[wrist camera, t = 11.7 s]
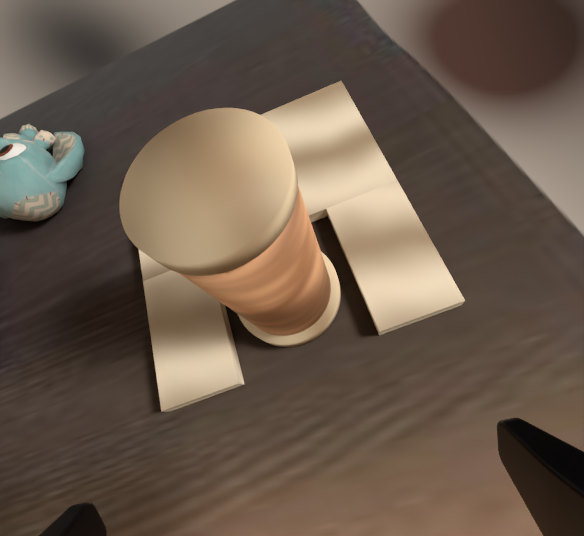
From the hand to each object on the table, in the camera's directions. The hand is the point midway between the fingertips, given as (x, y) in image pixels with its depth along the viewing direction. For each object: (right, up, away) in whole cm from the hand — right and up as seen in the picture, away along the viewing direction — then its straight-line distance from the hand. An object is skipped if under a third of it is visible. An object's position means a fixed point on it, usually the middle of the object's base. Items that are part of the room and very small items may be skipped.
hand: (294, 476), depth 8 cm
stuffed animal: (-23, +13, +25) cm, 36 cm away
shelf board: (-2, +7, +18) cm, 19 cm away
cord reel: (0, +3, +16) cm, 16 cm away
